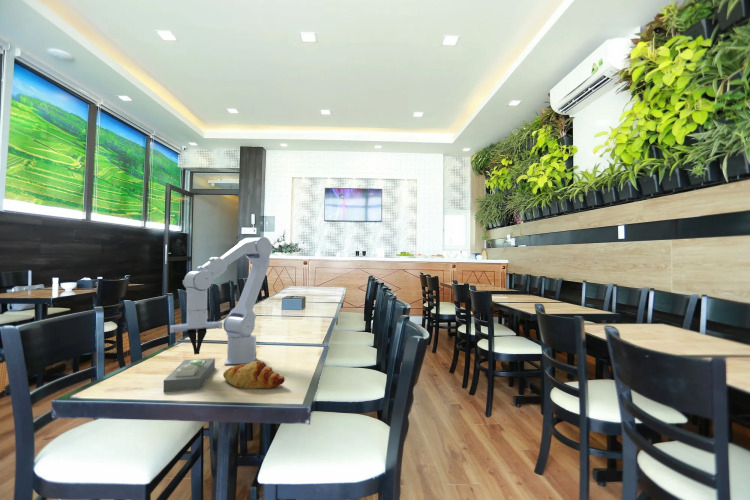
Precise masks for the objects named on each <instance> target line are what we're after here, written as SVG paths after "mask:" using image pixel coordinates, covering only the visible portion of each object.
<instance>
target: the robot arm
mask: <svg viewBox="0 0 750 500" xmlns="http://www.w3.org/2000/svg"><path fill="white" fill-rule="evenodd" d="M272 251H273V245H272V243H271V240H270V239H269V238H268V237H266V236H260V237H245V238H243V239H241V240H240V241H238V243H237V244H236V245H235V246H233V247H232V248H231V249H229V250H228V251H227V252H225V253H224V254H223V255H221V256H218V257H217V256H212V257H209V258H208V261H207V262H206V263H204V264H202V265H199V266H197V267H196V270H192V271H189V272H188V273H186V275H185V276H184V279H183V280H182V285H183V286H184V288H185V289H186V291H185V293H186V323H180V324H172V325H170V326H169V333H170V334H171V333H172V334H173V333H177V332H178V333H180V332H186V334H187V336H188V338H189V341H190V342H191V345H192V348H193V354H194V356H195V355H200V350H201V348H202V347H201V346H202V344H203V341H204V338H205V337H206V334H207V330H216V329H223V330H224V331H225V332H226V336H227V349H226V352H227V353H226V354H227V357H226V360H225V362H224V365H225V366H227V365H242V364H249V363H251V362H255V361H256V359H257V353H258V352H257V335H256V334H252V333H253V331H254V330H255V326H256V325H255V324H256V322H255V321H256V318H257V315H256V314H255V312H254V307H255V304H256V301H257V299H258V296H259V294H260V291H261V289H262V286H263V283H264V280H265V277H266V274H267V272H268V269H269V267H270V256H271V253H272ZM243 256H245V257H246V258H247V259H248V260H249V262H250V263H251V265H252V266H251V269H250V271H249V273H248V277H247V279H246V281H245V284H244V287H243V289H242V292H241V295H240V297H239V300H238V302H237V305H236V306H235V307H234V308H232V309H231V310H230V312H229V313H228V315H227V316H226V317H225V318H224V320H223V321H208V289H209V288H210V287H211V285H212V283H213V281H214V280H215V279H217V278H218V277H219V276H221V275H222V274H224V273H225V272H226V271H227V268H228V266H229V265H231V264H233V262H235V261H237V260H238V259H239V258H242V257H243Z"/></svg>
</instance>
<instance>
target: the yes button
mask: <svg viewBox="0 0 750 500" xmlns="http://www.w3.org/2000/svg"><path fill="white" fill-rule="evenodd" d="M191 360H192V361H190V362H189V363H188V364H193V365H194V366H197V365H198V366H200V365H204V363H205V361H203V360H193V359H191Z"/></svg>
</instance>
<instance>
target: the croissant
mask: <svg viewBox="0 0 750 500" xmlns="http://www.w3.org/2000/svg"><path fill="white" fill-rule="evenodd" d="M222 375H223V378H224V379H225V380H226V382H227V383H229V384H230V385H232V386H234V387H235V388H240V389H242V388H243V389H247V390H249V389H250V390H253V389H271V388H277V387H279V386H280V385H283V384H284V383H285V377H284V376H281V375H280V374H279V373H278V372H276V371H274V370H273V368H272V367H271V366H267V364H266V363H265V362H263V361H259V360H255V362H251V363H246V364H237V365H236V366H234V367H229V368H228V369H225V371H223V374H222Z"/></svg>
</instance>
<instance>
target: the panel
mask: <svg viewBox="0 0 750 500" xmlns="http://www.w3.org/2000/svg"><path fill="white" fill-rule="evenodd" d="M192 360H203V361H205V363H204V365H200V366H198V372H197V373H196V374H195V376H181V377H176V371H177V370H178V369H179V368H180V366H182V365H186V364H188V363H189V362H190V361H192ZM215 368H216V358H215V357H213V358H198V359H196V358H195V359H184V360H183V361H182V362H181V363H180V364H179V365H178V366H177V367H176V368H175V369H174V370H172V372H171V373H169V375H168V376H166V378H164V379H163V392H164V393H165V392H174V391H175V392H180V391H192V390H193V391H194V390H195V391H196V390H201V389H202V387H203V385H204V384H205V382H206V381H207V379H208V378H209V377H210V376H211V374H212V372H213V371H214V369H215Z"/></svg>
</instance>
